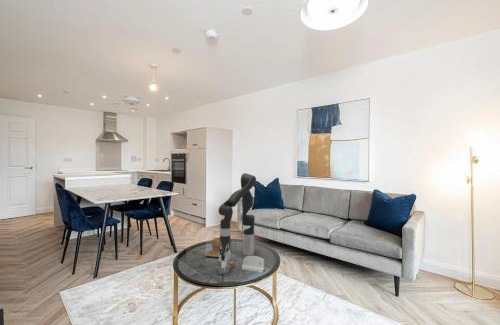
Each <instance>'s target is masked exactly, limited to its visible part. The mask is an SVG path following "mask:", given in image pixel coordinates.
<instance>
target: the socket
mask: <svg viewBox="0 0 500 325" xmlns="http://www.w3.org/2000/svg"><path fill="white" fill-rule="evenodd" d="M230 261H231V248H230V249H226V252H225V260H224V261H222V260H221V255H220V251H219V257H218V262H221V263H222V262H227V263H229V262H230Z"/></svg>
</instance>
